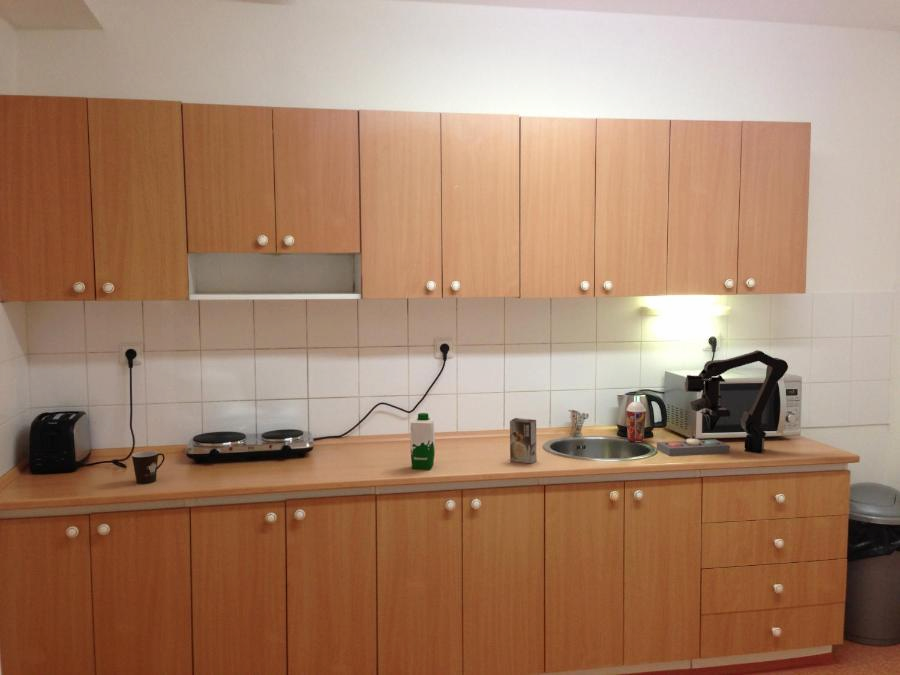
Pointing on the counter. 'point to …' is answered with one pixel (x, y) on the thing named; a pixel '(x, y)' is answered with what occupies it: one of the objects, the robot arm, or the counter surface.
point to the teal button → (711, 442)
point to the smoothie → (635, 420)
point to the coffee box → (523, 440)
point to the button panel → (693, 448)
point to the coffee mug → (146, 466)
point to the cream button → (692, 442)
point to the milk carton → (422, 442)
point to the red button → (674, 444)
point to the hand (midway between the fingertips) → (710, 429)
